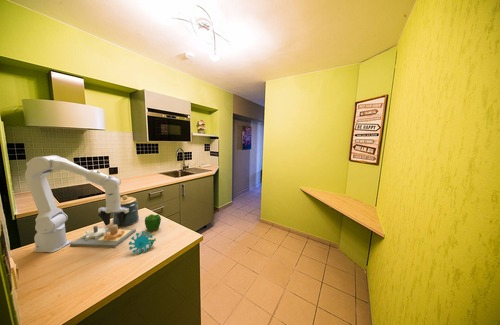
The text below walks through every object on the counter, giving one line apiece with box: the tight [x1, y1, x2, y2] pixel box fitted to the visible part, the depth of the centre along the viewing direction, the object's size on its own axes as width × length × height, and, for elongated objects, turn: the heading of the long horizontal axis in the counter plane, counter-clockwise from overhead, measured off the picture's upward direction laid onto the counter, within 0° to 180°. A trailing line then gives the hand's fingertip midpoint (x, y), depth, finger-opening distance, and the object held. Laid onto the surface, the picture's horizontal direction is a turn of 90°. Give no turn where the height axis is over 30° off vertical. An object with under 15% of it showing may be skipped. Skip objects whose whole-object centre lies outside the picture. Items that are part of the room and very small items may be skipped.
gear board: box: [69, 225, 137, 248], centre depth 84 cm, size 22×14×6 cm, turn 90°
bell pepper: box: [144, 213, 162, 232], centre depth 94 cm, size 8×8×10 cm
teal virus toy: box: [128, 230, 157, 254], centre depth 78 cm, size 11×6×10 cm
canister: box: [111, 194, 140, 228], centre depth 100 cm, size 13×13×18 cm
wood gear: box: [104, 224, 124, 240], centre depth 84 cm, size 8×8×6 cm
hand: (114, 224), depth 85 cm, fingers open, 7 cm apart
